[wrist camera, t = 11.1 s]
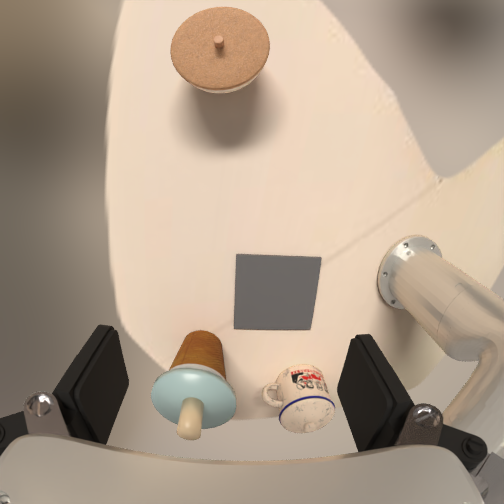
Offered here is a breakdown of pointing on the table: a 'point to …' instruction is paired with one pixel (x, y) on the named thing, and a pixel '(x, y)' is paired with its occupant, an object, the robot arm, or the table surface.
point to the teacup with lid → (301, 399)
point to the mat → (275, 291)
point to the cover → (193, 400)
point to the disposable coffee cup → (201, 353)
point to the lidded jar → (220, 49)
